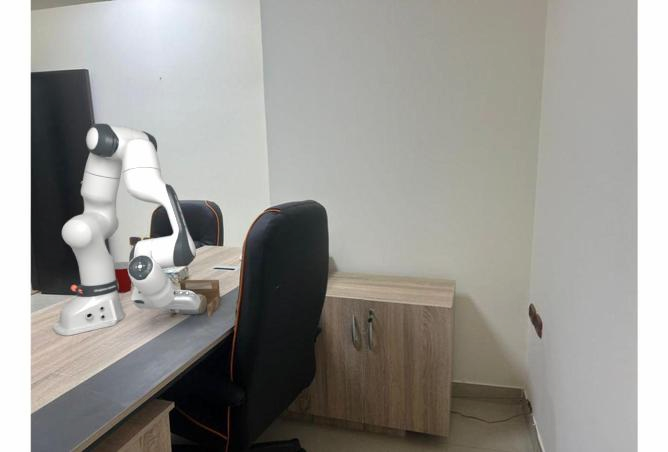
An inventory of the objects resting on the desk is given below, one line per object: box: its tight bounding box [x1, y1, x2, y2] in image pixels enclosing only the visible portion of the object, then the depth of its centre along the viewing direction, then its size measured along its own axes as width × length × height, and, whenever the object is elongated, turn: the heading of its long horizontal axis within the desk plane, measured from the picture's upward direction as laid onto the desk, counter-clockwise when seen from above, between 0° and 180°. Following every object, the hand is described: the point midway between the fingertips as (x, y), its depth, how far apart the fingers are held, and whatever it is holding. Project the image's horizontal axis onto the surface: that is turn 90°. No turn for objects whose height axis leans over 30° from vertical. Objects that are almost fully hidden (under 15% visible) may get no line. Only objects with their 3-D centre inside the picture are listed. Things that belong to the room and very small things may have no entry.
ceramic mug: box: [179, 294, 207, 315], centre depth 166 cm, size 11×8×8 cm
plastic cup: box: [114, 261, 133, 294], centre depth 194 cm, size 11×11×12 cm
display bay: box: [169, 279, 221, 318], centre depth 167 cm, size 13×15×10 cm
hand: (174, 310), depth 150 cm, fingers closed
